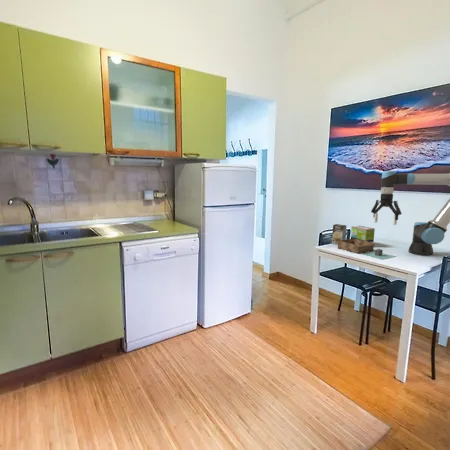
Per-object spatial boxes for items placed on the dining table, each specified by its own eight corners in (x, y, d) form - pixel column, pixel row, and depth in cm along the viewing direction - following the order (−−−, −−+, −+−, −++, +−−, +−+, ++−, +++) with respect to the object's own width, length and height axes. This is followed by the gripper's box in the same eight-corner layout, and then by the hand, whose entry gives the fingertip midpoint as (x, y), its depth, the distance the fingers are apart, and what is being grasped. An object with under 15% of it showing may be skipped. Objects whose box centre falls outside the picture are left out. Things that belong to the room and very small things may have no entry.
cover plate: (396, 257, 199) (396, 250, 198) (382, 260, 191) (383, 253, 190) (374, 252, 213) (375, 246, 212) (360, 255, 205) (361, 248, 204)
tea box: (349, 243, 240) (351, 226, 238) (358, 242, 244) (359, 225, 242) (365, 247, 227) (366, 228, 224) (373, 245, 231) (375, 228, 228)
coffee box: (331, 243, 239) (332, 224, 237) (335, 242, 243) (336, 223, 241) (341, 245, 232) (343, 226, 230) (345, 244, 236) (346, 225, 234)
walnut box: (373, 250, 214) (373, 242, 213) (357, 253, 206) (358, 245, 205) (352, 245, 230) (353, 238, 229) (337, 248, 221) (338, 240, 220)
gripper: (366, 193, 206) (365, 222, 209) (402, 194, 184) (400, 226, 188) (372, 192, 209) (371, 221, 213) (408, 193, 188) (406, 225, 191)
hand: (385, 223), depth 200 cm, fingers open, 13 cm apart
